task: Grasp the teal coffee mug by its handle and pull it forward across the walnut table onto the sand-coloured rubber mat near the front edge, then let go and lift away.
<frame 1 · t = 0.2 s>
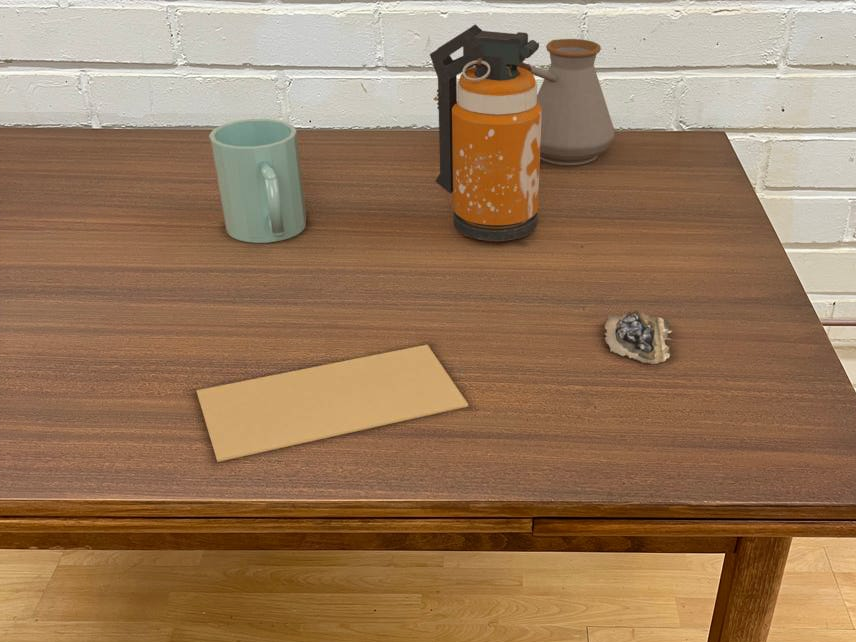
mat: (331, 399, 77), on the table
coffee pot: (538, 165, 118), on the table
canister: (486, 229, 103), on the table
mineral specimen: (641, 343, 85), on the table
teal coffee mug: (266, 225, 103), on the table
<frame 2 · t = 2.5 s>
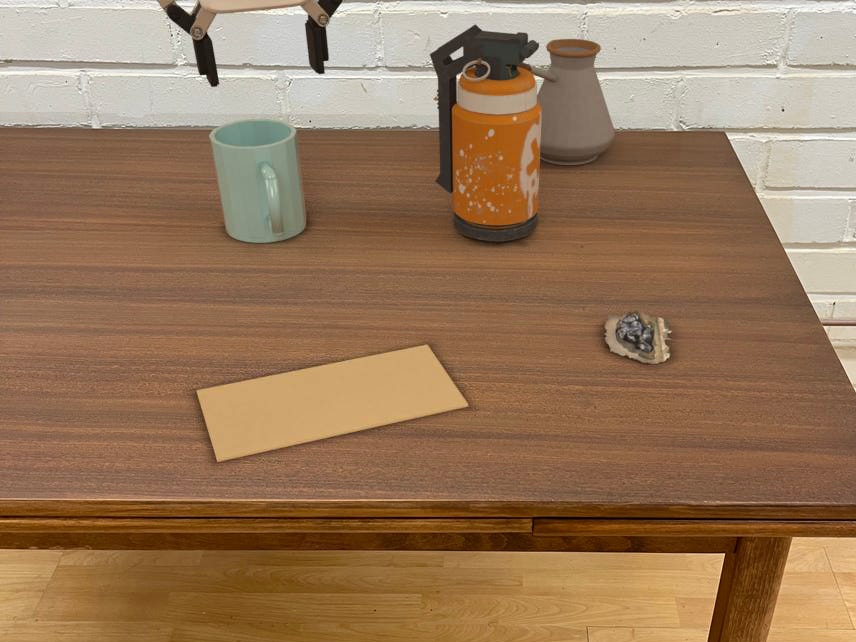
hand: (265, 76, 87), 17 cm above the table, tool pointing down, fingers open, 9 cm apart
nothing on the table moved.
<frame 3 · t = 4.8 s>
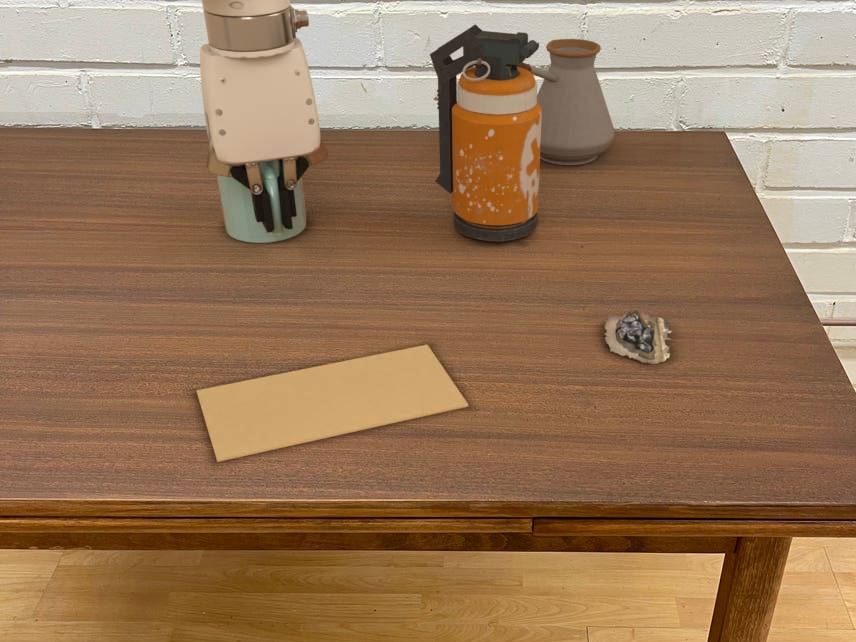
hand: (277, 224, 96), 3 cm above the table, tool pointing down, fingers closed on teal coffee mug
teal coffee mug: (266, 225, 103), on the table, touching gripper
everything else where it was.
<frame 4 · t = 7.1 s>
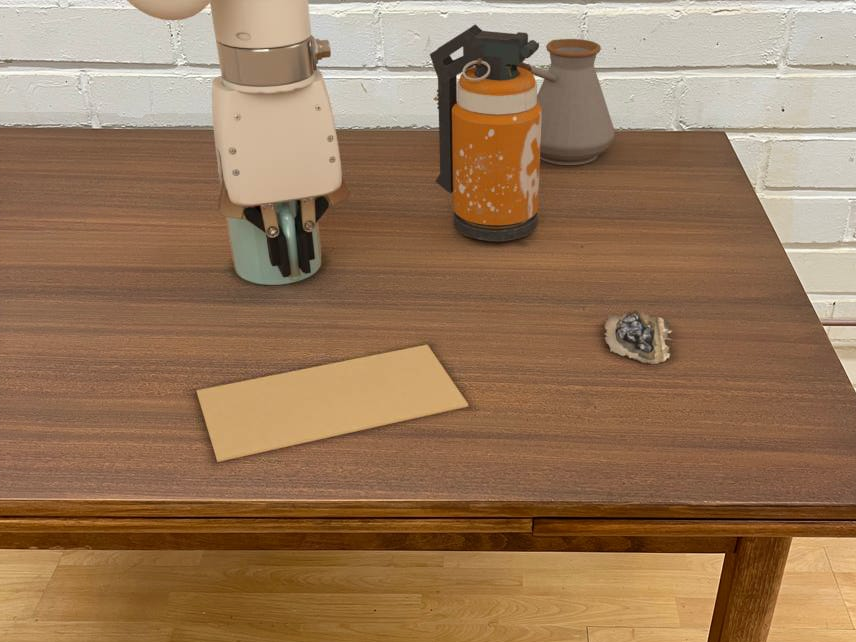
hand: (293, 268, 89), 3 cm above the table, tool pointing down, fingers closed on teal coffee mug
teal coffee mug: (278, 264, 96), on the table, touching gripper
everything else where it was.
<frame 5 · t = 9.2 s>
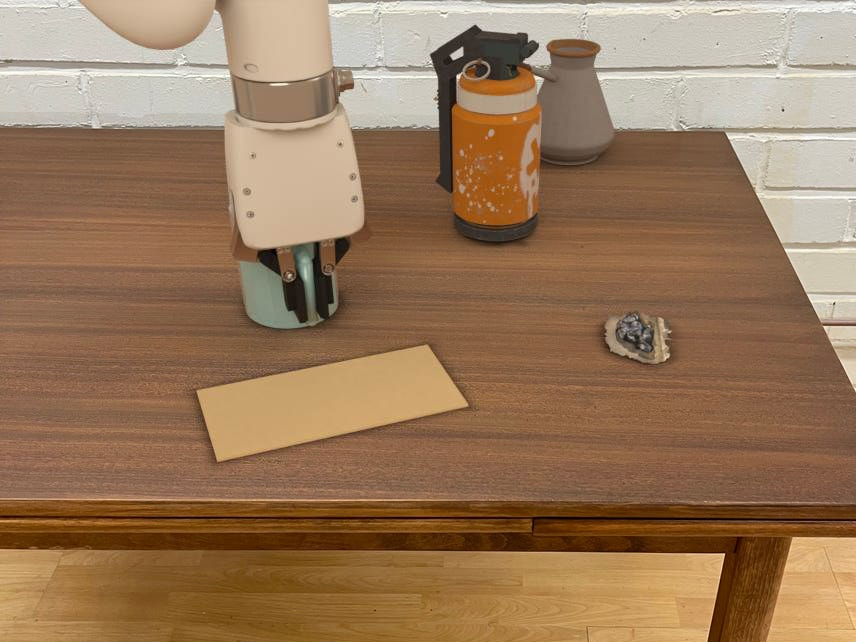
hand: (310, 312, 82), 3 cm above the table, tool pointing down, fingers closed on teal coffee mug
teal coffee mug: (292, 304, 89), on the table, touching gripper
everything else where it was.
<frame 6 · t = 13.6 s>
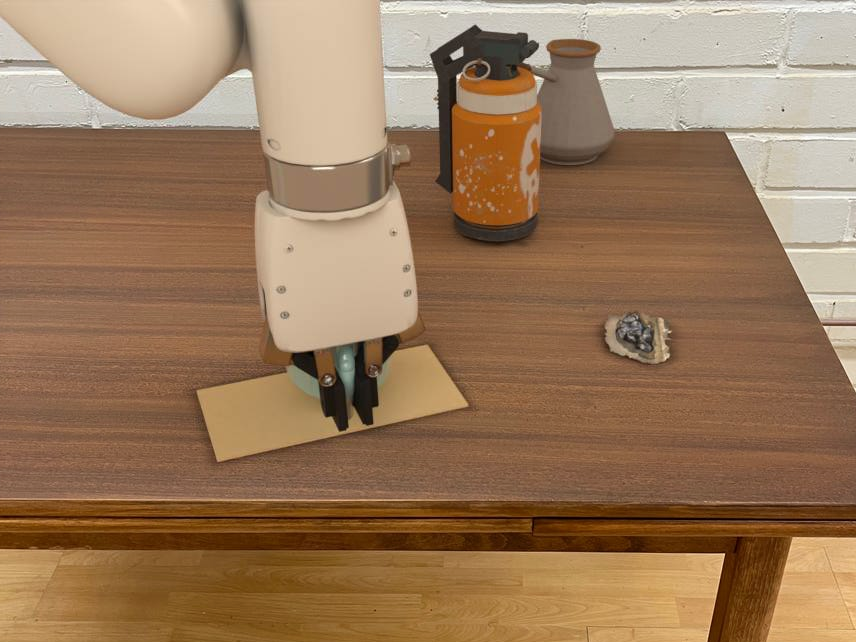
hand: (350, 417, 70), 3 cm above the table, tool pointing down, fingers closed on teal coffee mug
teal coffee mug: (338, 360, 78), point 2 cm above the table, tilted 19°, touching gripper
everything else where it was.
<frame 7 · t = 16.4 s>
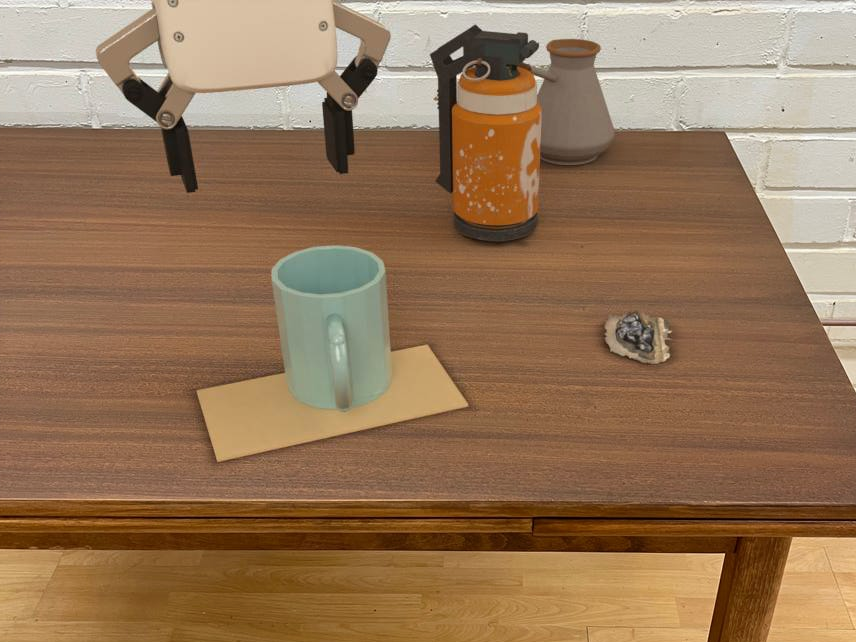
hand: (265, 175, 62), 20 cm above the table, tool pointing down, fingers open, 9 cm apart
teal coffee mug: (339, 380, 79), resting on mat
everything else where it was.
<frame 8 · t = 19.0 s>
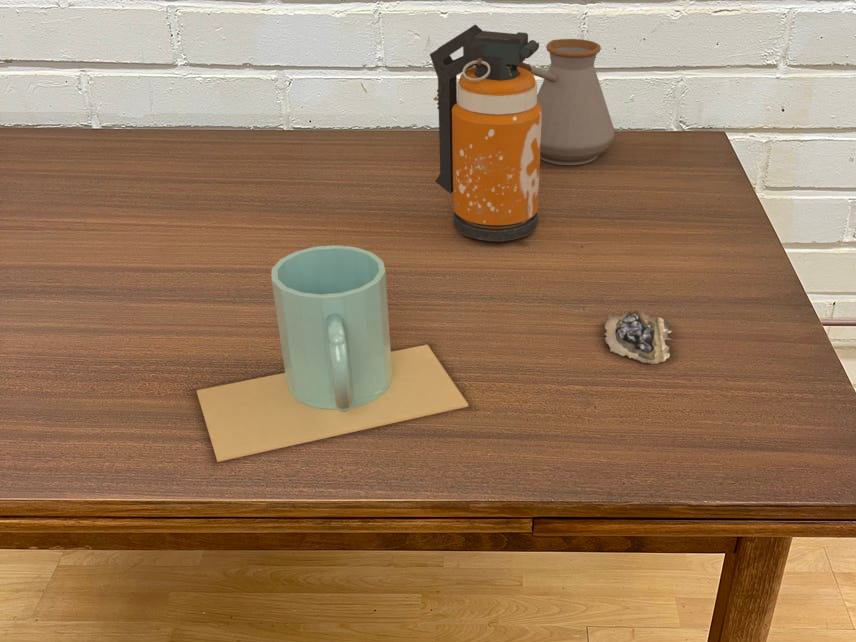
nothing on the table moved.
at the end: teal coffee mug inside the target area on the mat (2.6 cm from its centre), point 0.2 cm above the mat's base; teal coffee mug tilted 0°; the gripper is holding nothing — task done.
